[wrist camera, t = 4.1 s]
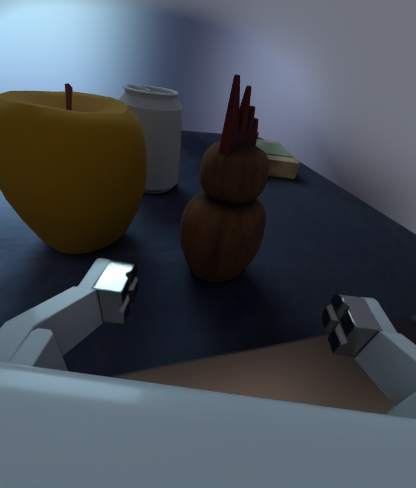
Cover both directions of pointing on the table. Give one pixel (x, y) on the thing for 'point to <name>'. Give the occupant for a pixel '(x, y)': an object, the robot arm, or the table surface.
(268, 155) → the l-shaped display stand
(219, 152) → the wooden figurine
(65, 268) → the table surface
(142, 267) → the table surface
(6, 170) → the apple
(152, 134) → the can
